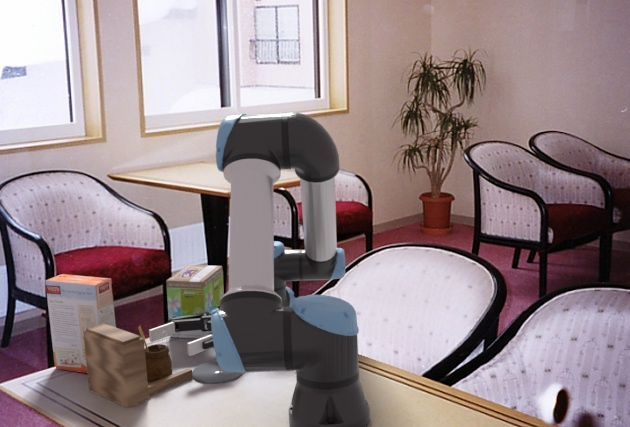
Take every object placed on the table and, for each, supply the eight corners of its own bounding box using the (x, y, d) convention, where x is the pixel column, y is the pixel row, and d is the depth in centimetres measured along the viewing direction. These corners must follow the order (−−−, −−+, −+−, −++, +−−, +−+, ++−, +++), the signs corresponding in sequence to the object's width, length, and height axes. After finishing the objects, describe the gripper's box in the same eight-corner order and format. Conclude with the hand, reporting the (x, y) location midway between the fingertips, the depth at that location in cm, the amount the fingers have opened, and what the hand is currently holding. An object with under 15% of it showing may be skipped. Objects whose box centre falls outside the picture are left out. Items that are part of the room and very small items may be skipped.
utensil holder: (170, 384, 172) (165, 330, 169) (140, 385, 172) (135, 331, 169) (175, 373, 177) (170, 320, 175) (146, 374, 178) (141, 321, 175)
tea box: (207, 339, 197) (203, 281, 194) (168, 338, 199) (163, 280, 196) (226, 318, 211) (222, 264, 208) (190, 317, 213) (185, 263, 210)
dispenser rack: (197, 379, 174) (192, 318, 171) (128, 408, 161) (122, 343, 158) (157, 364, 183) (152, 306, 180) (89, 390, 170) (82, 328, 168)
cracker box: (121, 367, 182) (112, 277, 178) (103, 377, 177) (94, 285, 172) (72, 359, 188) (62, 272, 184) (54, 369, 183) (43, 279, 178)
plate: (254, 370, 177) (253, 368, 177) (215, 387, 169) (215, 385, 169) (220, 359, 184) (220, 356, 184) (182, 375, 176) (181, 372, 176)
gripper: (279, 342, 184) (207, 372, 169) (208, 320, 201) (136, 346, 186) (278, 311, 182) (204, 338, 167) (206, 291, 199) (134, 314, 184)
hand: (168, 342), depth 176 cm, fingers open, 13 cm apart
